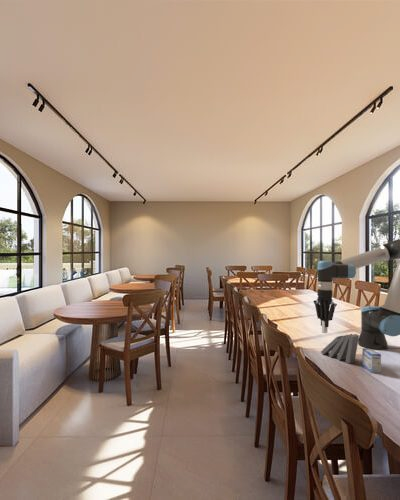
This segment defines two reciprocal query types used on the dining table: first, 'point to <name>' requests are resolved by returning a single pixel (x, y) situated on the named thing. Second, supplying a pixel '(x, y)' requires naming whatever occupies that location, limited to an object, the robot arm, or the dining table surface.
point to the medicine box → (371, 360)
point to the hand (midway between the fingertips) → (324, 332)
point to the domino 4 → (352, 348)
